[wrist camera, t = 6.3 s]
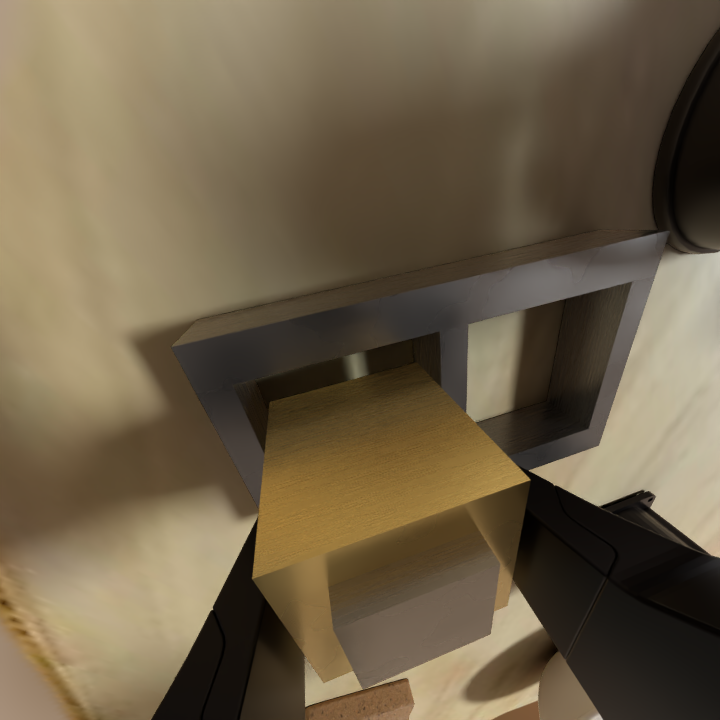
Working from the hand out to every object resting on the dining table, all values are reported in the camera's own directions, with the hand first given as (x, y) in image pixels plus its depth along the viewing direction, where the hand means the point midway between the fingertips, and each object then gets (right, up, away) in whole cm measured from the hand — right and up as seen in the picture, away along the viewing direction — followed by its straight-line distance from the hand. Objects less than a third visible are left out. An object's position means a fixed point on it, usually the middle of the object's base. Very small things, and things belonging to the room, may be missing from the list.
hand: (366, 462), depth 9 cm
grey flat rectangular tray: (+3, +2, +3) cm, 5 cm away
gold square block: (0, +1, +1) cm, 1 cm away
